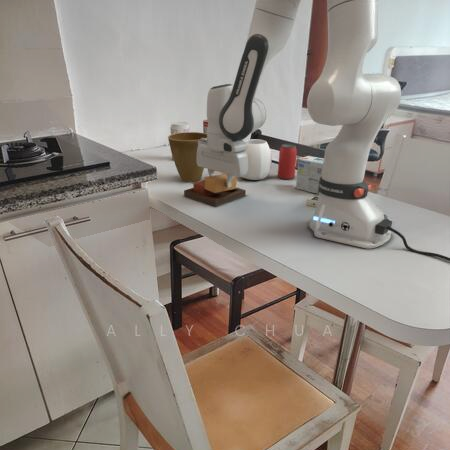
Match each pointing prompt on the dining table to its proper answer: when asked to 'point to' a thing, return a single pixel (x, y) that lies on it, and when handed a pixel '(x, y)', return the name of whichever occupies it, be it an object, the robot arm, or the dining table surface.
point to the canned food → (205, 126)
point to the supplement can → (179, 128)
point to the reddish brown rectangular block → (202, 188)
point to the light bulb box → (309, 173)
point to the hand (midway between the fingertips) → (220, 184)
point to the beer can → (287, 161)
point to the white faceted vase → (258, 159)
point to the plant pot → (186, 154)
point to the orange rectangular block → (219, 183)
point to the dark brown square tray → (216, 196)
